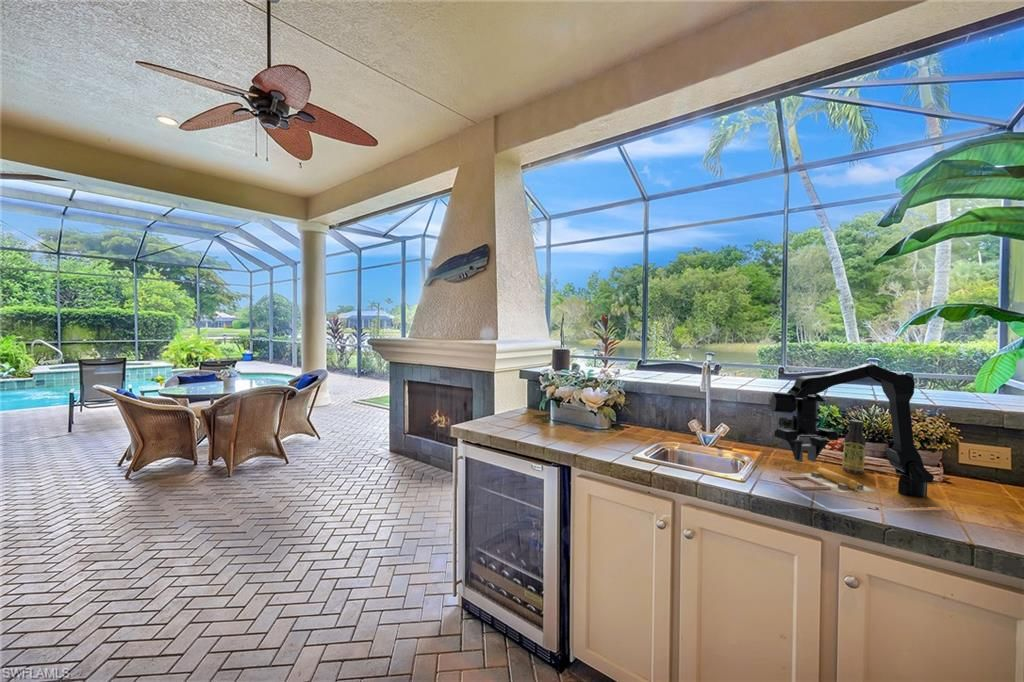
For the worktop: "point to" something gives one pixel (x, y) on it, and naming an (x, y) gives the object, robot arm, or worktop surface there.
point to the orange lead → (837, 478)
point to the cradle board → (838, 484)
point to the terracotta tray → (822, 486)
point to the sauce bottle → (854, 448)
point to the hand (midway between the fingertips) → (805, 459)
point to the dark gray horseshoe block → (811, 452)
